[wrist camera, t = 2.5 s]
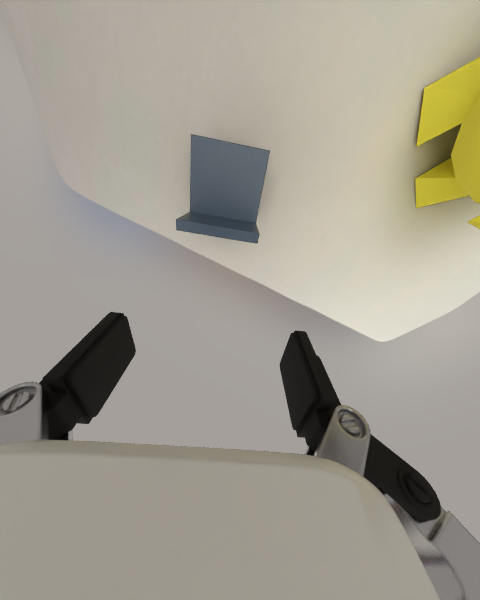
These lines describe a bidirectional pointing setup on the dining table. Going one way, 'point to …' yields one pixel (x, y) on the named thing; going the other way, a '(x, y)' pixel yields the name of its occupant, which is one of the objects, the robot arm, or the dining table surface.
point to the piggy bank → (469, 144)
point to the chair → (224, 189)
